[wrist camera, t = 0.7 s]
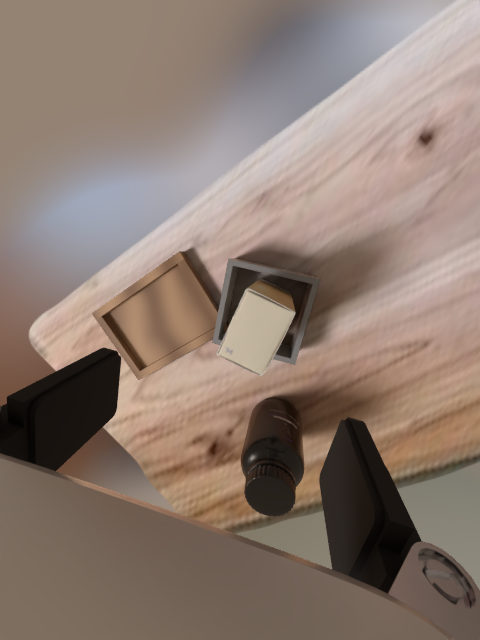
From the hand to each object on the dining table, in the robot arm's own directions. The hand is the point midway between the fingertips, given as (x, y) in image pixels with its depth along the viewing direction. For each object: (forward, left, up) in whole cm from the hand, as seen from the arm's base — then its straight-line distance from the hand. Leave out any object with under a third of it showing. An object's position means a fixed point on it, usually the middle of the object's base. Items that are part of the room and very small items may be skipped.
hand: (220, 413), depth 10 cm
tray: (+13, +5, -22) cm, 26 cm away
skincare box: (0, 0, -22) cm, 22 cm away
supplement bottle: (-5, +15, -22) cm, 27 cm away
